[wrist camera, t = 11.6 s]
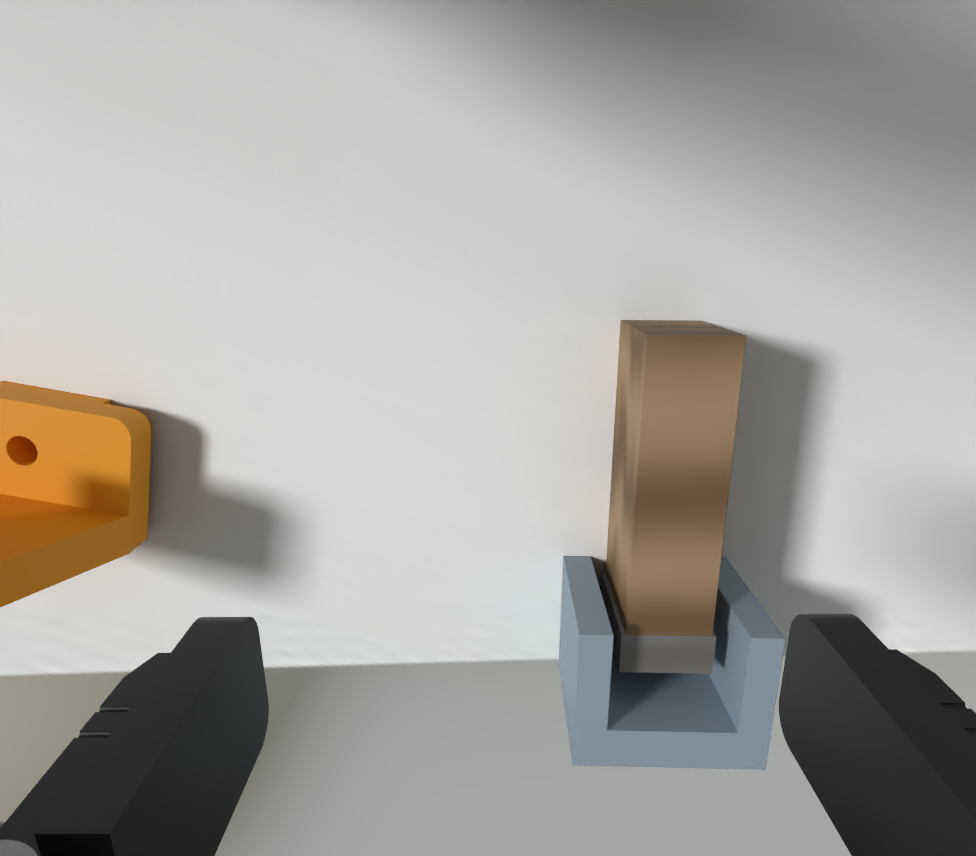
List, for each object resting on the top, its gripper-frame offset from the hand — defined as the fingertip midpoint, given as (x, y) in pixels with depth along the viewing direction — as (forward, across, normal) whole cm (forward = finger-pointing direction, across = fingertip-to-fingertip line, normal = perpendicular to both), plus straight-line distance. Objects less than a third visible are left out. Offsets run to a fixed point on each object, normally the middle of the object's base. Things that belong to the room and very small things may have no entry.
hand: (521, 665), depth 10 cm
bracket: (+24, +24, +5) cm, 34 cm away
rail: (+24, -8, +6) cm, 26 cm away
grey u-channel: (+23, -8, +15) cm, 29 cm away
